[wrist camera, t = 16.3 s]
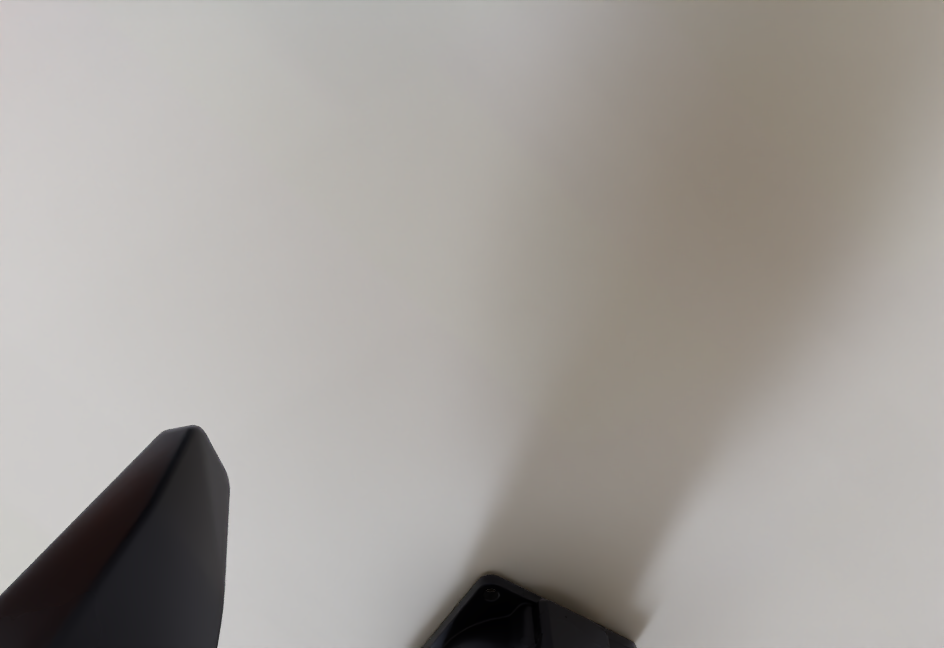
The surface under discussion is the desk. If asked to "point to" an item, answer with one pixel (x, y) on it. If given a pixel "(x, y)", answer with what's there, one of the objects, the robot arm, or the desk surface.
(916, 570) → the desk surface
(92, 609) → the robot arm
